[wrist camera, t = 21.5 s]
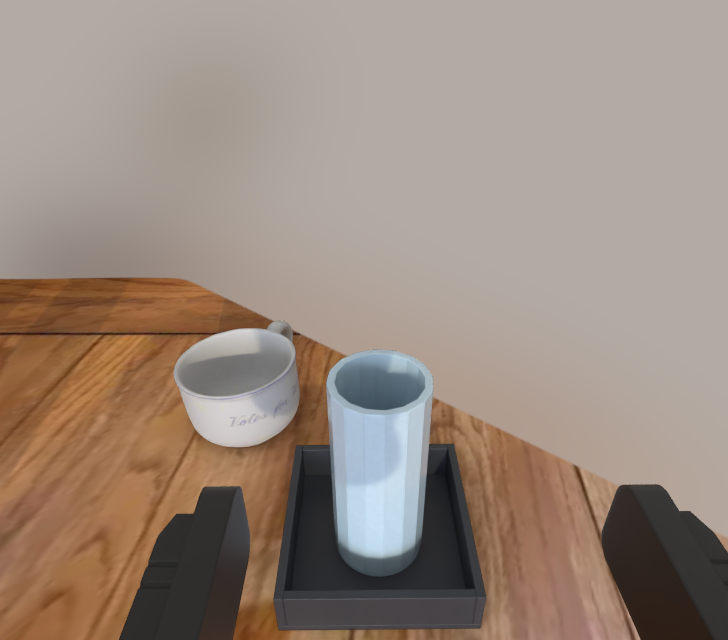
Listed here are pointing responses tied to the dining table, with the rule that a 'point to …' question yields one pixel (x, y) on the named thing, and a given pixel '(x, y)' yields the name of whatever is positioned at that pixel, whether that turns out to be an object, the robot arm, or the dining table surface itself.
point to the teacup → (240, 384)
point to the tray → (370, 593)
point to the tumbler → (379, 457)
